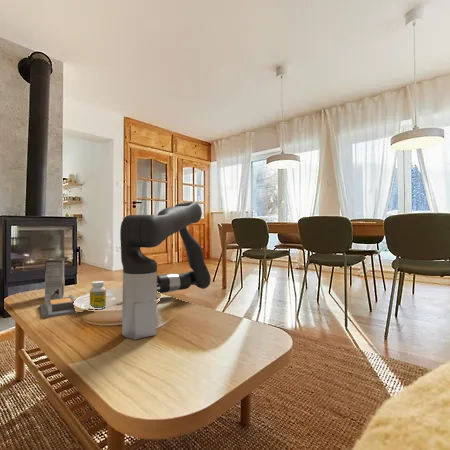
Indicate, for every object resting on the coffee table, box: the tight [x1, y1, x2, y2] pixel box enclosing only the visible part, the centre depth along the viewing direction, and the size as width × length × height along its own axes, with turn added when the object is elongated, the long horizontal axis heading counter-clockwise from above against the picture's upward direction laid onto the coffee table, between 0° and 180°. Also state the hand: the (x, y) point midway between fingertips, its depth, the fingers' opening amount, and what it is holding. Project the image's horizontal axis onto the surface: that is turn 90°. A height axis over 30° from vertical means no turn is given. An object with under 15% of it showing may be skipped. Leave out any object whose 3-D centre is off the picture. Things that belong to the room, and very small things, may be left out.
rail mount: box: [39, 294, 77, 319], centre depth 101 cm, size 16×12×3 cm
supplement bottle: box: [89, 280, 107, 309], centre depth 102 cm, size 5×5×10 cm
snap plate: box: [50, 297, 73, 304], centre depth 101 cm, size 6×6×1 cm
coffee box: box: [44, 257, 66, 299], centre depth 117 cm, size 9×6×16 cm
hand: (128, 287), depth 109 cm, fingers open, 8 cm apart
